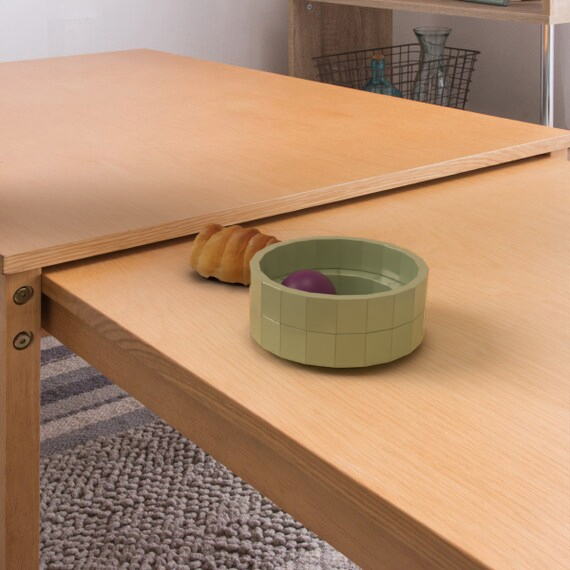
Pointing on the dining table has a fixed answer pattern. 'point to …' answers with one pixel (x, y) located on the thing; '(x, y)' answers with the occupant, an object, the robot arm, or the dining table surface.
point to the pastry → (227, 251)
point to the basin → (339, 301)
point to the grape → (310, 282)
